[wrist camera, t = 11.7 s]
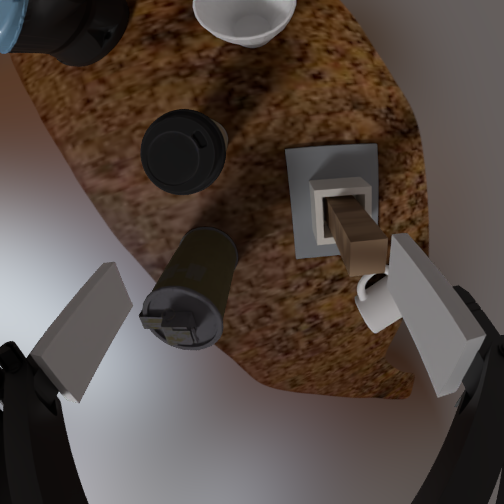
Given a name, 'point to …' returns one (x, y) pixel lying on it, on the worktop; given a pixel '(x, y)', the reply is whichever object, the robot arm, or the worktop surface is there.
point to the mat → (325, 167)
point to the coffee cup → (184, 151)
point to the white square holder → (335, 188)
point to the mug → (376, 303)
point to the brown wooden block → (356, 236)
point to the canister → (192, 291)
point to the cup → (244, 19)
